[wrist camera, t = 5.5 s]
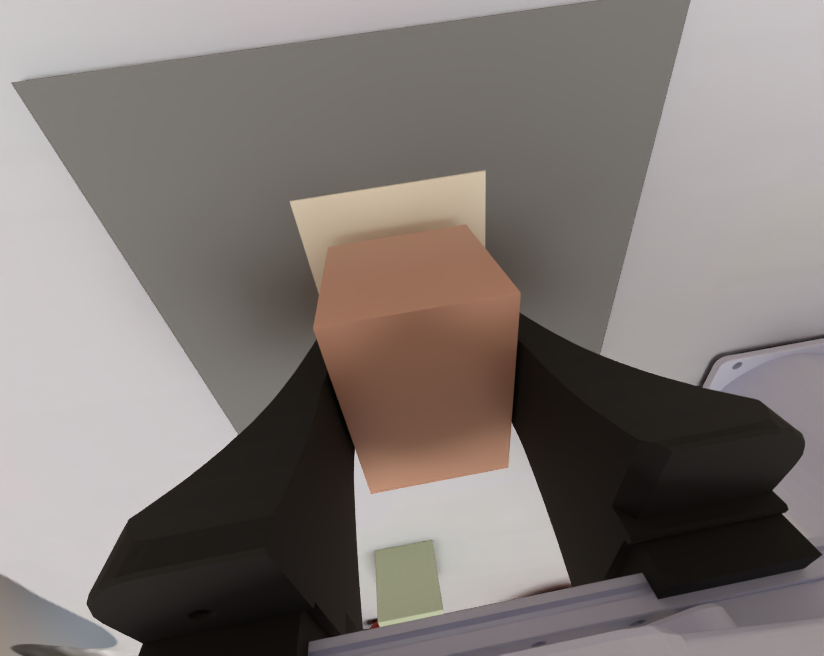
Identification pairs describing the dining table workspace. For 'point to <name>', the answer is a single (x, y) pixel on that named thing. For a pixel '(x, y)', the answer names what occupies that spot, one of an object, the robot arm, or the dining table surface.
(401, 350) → the terracotta brick
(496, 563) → the dining table surface
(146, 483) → the dining table surface
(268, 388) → the mat
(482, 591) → the dining table surface
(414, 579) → the sage brick
